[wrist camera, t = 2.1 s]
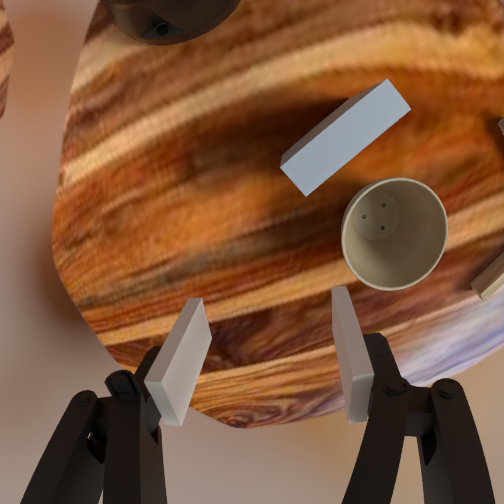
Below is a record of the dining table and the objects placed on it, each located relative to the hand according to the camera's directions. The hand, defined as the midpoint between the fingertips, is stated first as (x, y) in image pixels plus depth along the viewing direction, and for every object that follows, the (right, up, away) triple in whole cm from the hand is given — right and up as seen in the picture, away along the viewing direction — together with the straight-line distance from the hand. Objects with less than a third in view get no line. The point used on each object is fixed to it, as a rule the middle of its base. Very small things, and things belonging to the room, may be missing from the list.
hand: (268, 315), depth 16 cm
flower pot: (+12, +7, +14) cm, 20 cm away
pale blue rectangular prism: (+6, +15, +12) cm, 20 cm away
